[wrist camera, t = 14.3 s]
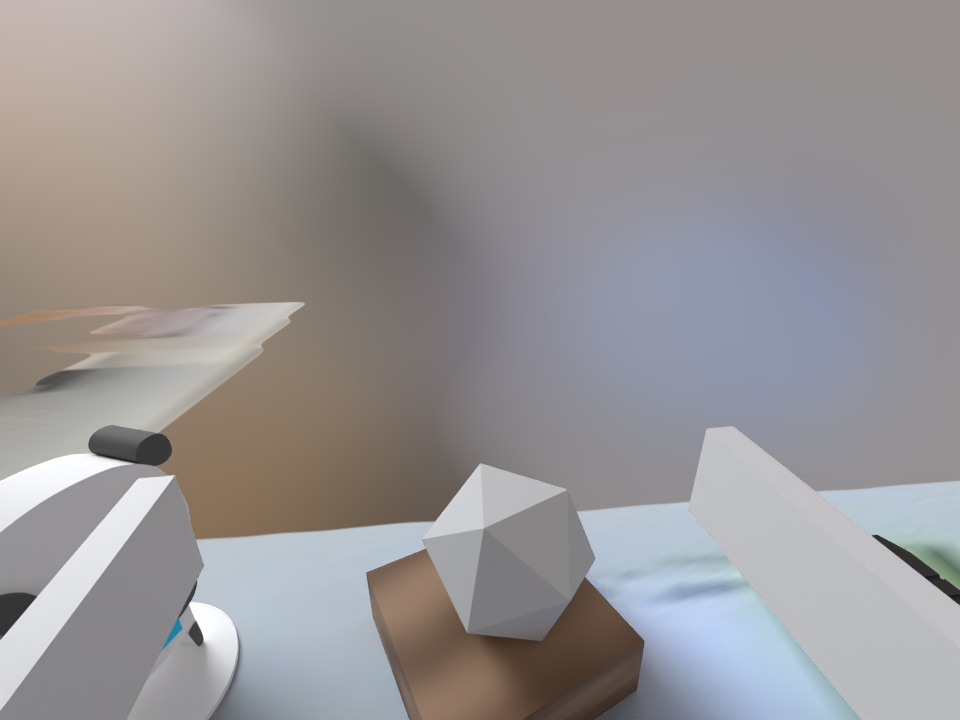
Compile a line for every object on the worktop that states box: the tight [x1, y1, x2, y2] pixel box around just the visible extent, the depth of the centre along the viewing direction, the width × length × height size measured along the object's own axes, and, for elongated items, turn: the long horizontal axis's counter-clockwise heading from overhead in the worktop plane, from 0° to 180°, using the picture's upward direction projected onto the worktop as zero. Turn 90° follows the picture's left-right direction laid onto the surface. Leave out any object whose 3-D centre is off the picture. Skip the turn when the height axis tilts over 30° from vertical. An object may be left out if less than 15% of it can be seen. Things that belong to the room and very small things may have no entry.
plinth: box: [366, 549, 645, 720], centre depth 28 cm, size 12×12×4 cm
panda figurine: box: [0, 425, 239, 720], centre depth 24 cm, size 12×11×15 cm
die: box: [422, 464, 595, 641], centre depth 26 cm, size 8×9×10 cm
